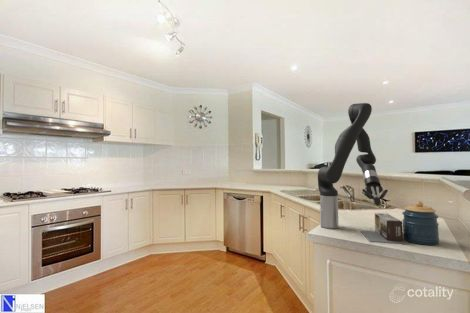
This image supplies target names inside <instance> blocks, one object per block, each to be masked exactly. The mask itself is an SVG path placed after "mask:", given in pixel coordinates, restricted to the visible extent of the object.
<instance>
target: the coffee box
mask: <svg viewBox="0 0 470 313" xmlns="http://www.w3.org/2000/svg"><path fill="white" fill-rule="evenodd" d="M374 231H376V232H378V233H379V234H380V235H381V236H383V237H384V238H385V239H386V240H387V241H403V240H404V237H403V221H402V220H400V219H398V218H396V217H394V216H392V215H391V214H389V213H380V212H378V213H377V212H375V213H374Z"/></svg>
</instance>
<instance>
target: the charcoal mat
mask: <svg viewBox="0 0 470 313" xmlns="http://www.w3.org/2000/svg"><path fill="white" fill-rule="evenodd" d="M360 232H361V233H362V235H363V236H364V237H365V238H366V240H368V241H369V242H370V243H381V244H397V245H409V242H408V241H407V240H405V239H403V241H387V240H386V239H385V238H384V237H383V236H381V235H380V234H379V233H378V232H376V231H375V230H362V229H361V230H360Z"/></svg>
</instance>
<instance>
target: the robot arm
mask: <svg viewBox="0 0 470 313" xmlns="http://www.w3.org/2000/svg"><path fill="white" fill-rule="evenodd" d="M372 111H373V107H372V105H371V104H370V103H368V102H362V103H361V102H359V103H353V104H352V103H351V105H349V106H348V110H347V114H348V119H349V121H350V124H351V125H350V126H348V127H346V128H345V129H344V130H343V131H341V133H340V134H339V135H338V138H337V140H336V142H335V144H334V157H333V160H332V161H331V163H330V165H329V166H322V167H320V168H319V170H318V173H317V186H318V191H319V199H320V200H319V206H320V207H319V216H320V217H319V220H320V221H319V222H320V227H321V228H325V229H338V228H339V194H338V189H336V188H335V187H334V184H337V183H338V181H340V179H341V178H342V174H343V171H344V168H345V166H346V163H347V161H348V159H349V157H350V154H351V152H352V150H353V148H354V146H355V145H356V146H357V150H358V152H359V153H364V154H359V155H357V157H356V163H357V165H358V166H359V168H360V169H361V172H362V176H363V181H364V182H363V183H364V185H365V188H362V190H361V193H362V194H363V196H366V198H368V199H369V200H373V203H374V205H375V206H378V207H379V206H380V205H381V203H382V202H381V201H382V200H383V199H384V198H385V196H386V195H387V194H388V189H384V188H383V187H382V184H381V181H380V178H379V175H378V172H377V170H376V166H375V163H377V162H376V161H377V158H376V156H375V154H374V152H373V150H372V146H371V139H370V136H369V134H368V133H367V131H366V130H365V129H364V126H365V125H366V123H367V122H368V121H369V119H370V116H371V114H372ZM380 194H381V195H380Z"/></svg>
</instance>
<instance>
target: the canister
mask: <svg viewBox="0 0 470 313" xmlns="http://www.w3.org/2000/svg"><path fill="white" fill-rule="evenodd" d="M401 213H402V215H403V219H401V221H402V228H403V240H404V241H406V242H408V243H409V242H410V243H413V244H417V245H426V246H437V245H439V243H440V237H439V223H438V218H439V217H440V216H439V215H438V214H436V209H434V208H432V206H427V205H424V203H423V201H416V202H415V204H410V205H409V204H408V205H407V206H405V207H404V211H402V212H401Z"/></svg>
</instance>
